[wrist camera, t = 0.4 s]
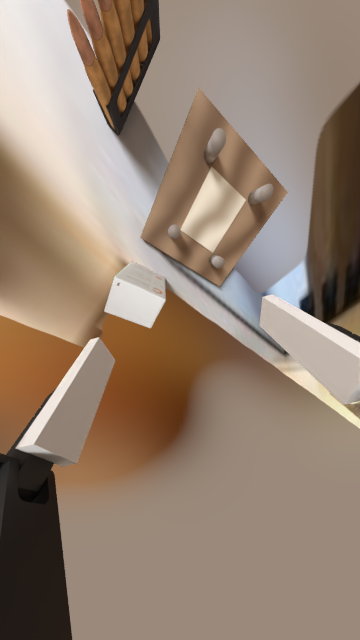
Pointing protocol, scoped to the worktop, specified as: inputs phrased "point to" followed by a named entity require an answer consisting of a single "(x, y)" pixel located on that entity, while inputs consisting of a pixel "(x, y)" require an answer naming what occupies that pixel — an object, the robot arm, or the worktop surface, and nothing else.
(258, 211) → the stub base plate
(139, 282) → the small box
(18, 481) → the robot arm
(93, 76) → the ammunition clip
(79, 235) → the worktop surface
